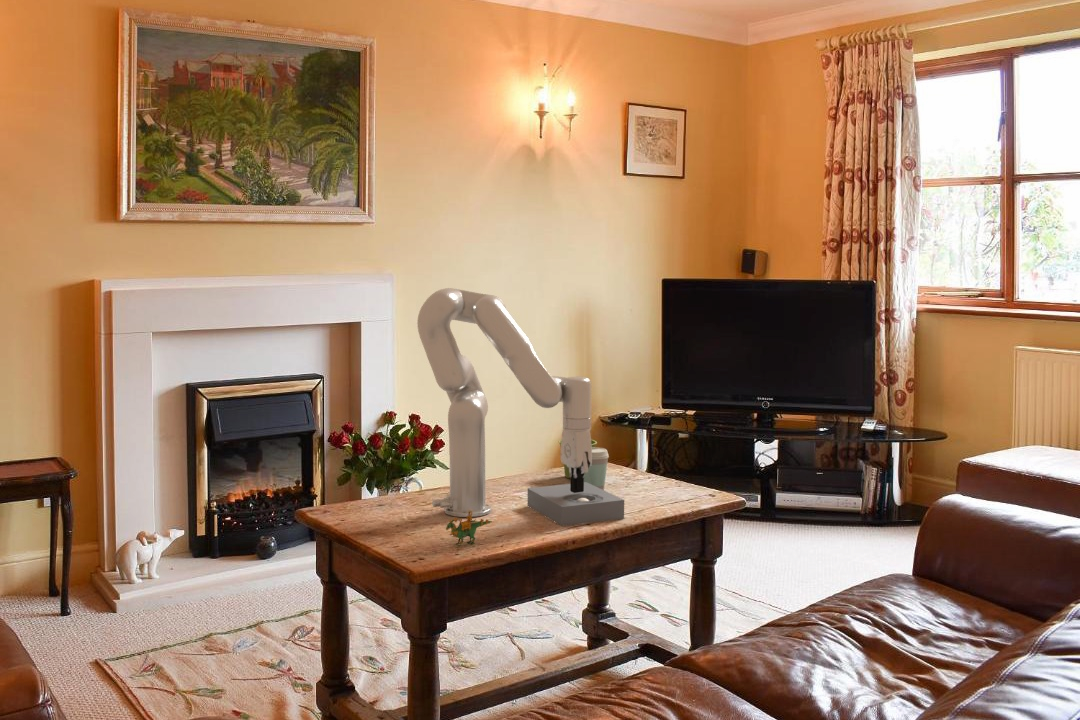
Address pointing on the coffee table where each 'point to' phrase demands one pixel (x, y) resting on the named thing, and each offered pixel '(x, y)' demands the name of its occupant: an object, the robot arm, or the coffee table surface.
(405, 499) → the coffee table surface
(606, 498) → the grey flat block
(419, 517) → the coffee table surface
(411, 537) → the coffee table surface
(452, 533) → the figurine
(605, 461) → the coffee cup
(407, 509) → the coffee table surface
